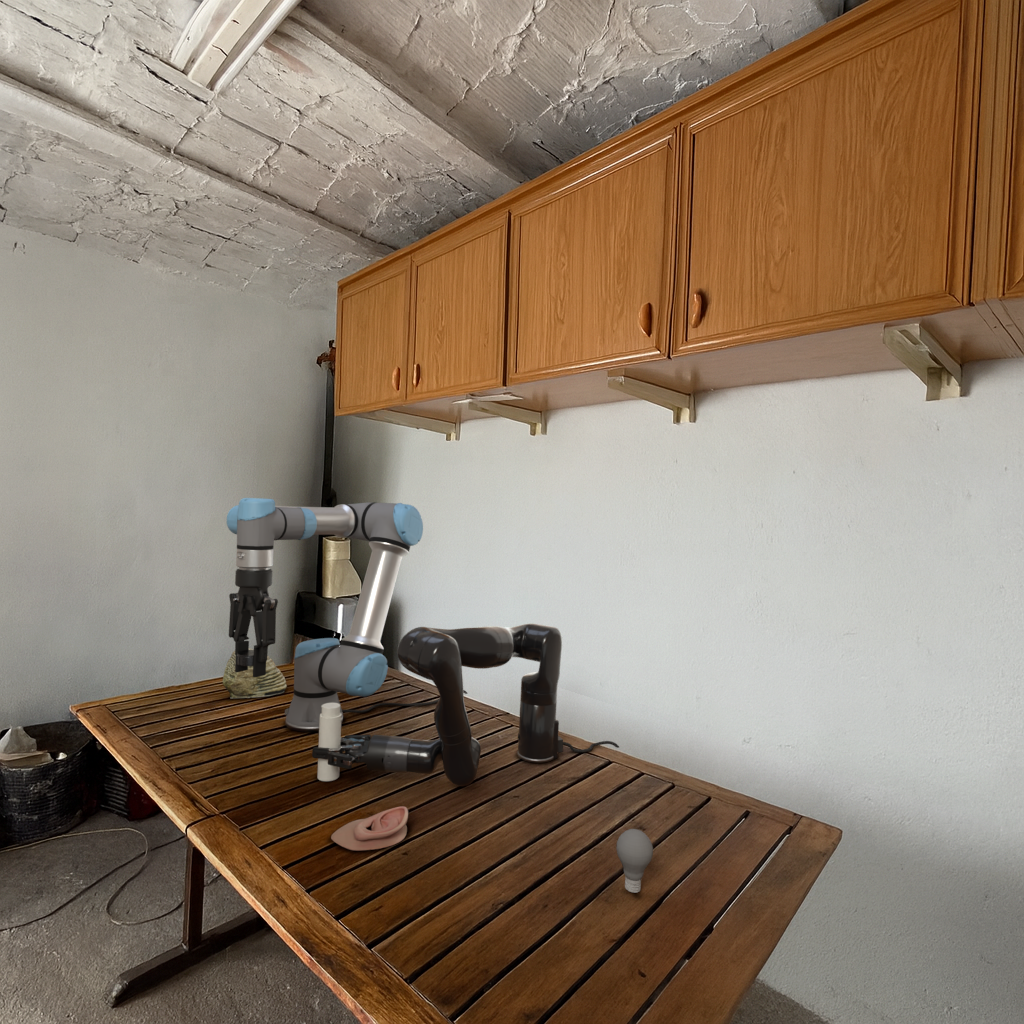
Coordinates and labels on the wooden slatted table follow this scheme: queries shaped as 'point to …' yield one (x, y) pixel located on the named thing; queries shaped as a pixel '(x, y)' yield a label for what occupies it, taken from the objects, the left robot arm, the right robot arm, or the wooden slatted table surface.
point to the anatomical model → (374, 830)
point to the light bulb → (634, 857)
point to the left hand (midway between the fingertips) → (250, 673)
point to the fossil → (253, 680)
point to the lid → (245, 658)
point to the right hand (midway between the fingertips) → (318, 747)
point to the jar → (329, 739)
